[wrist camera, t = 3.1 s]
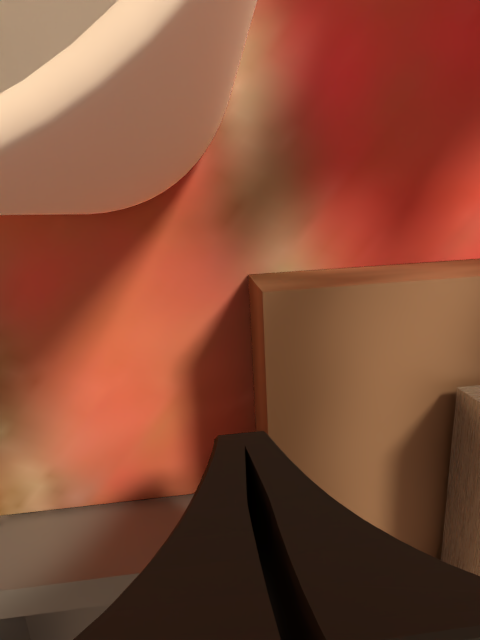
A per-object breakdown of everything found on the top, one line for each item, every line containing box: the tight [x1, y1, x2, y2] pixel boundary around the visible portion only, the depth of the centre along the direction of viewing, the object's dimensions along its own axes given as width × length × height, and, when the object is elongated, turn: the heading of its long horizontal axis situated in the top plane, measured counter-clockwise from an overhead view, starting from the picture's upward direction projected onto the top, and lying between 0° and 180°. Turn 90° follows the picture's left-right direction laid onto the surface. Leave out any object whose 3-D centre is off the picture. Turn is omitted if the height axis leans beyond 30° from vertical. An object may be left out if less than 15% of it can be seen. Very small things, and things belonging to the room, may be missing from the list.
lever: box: [441, 385, 480, 576], centre depth 12 cm, size 3×15×2 cm, turn 4°
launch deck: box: [248, 259, 480, 560], centre depth 15 cm, size 14×20×3 cm
